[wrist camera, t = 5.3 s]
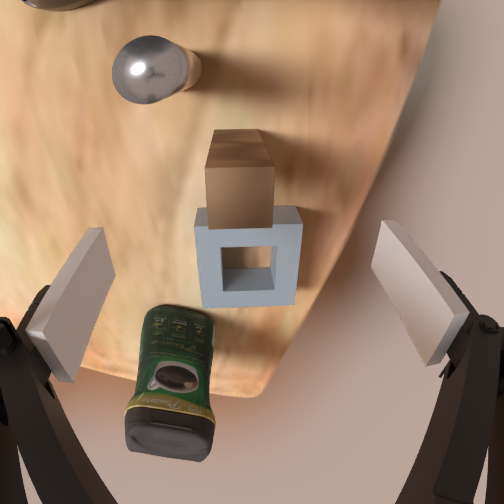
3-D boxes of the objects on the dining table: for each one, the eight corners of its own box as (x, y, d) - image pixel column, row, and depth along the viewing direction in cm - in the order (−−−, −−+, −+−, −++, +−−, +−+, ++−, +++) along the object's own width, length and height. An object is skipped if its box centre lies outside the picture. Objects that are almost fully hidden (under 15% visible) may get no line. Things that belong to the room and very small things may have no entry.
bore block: (204, 285, 37) (202, 308, 34) (197, 208, 32) (193, 226, 28) (288, 282, 38) (294, 304, 34) (295, 205, 32) (303, 224, 29)
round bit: (159, 92, 25) (114, 108, 15) (157, 51, 23) (110, 42, 13) (202, 88, 25) (183, 100, 15) (201, 47, 23) (182, 31, 13)
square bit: (215, 170, 30) (208, 229, 20) (214, 129, 27) (204, 168, 17) (257, 169, 30) (272, 228, 20) (257, 129, 28) (274, 166, 18)
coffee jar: (142, 337, 42) (119, 457, 26) (147, 297, 38) (116, 432, 22) (208, 350, 44) (206, 471, 28) (222, 313, 40) (223, 449, 24)
